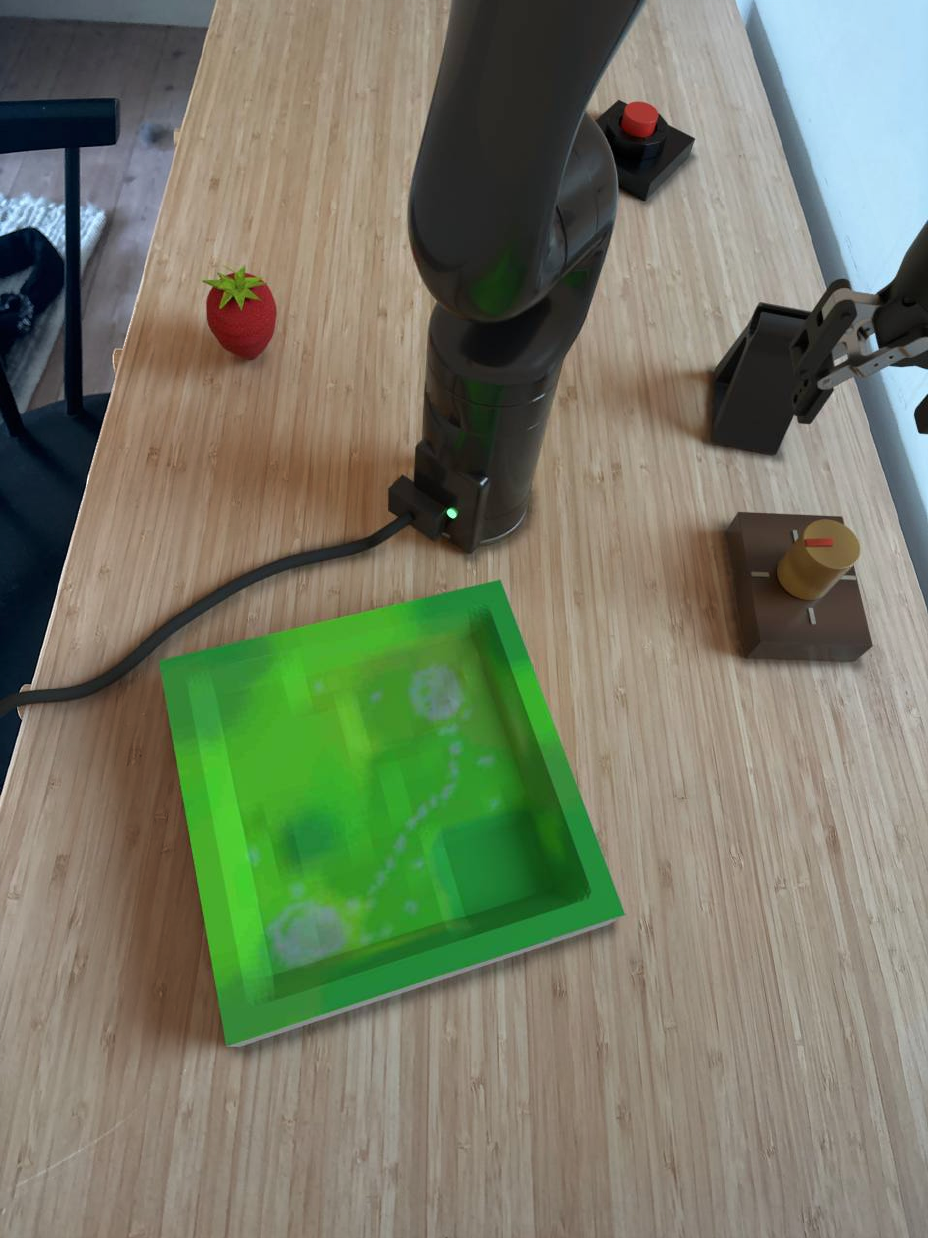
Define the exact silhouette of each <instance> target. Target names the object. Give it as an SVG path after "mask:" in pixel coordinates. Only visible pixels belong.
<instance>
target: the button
mask: <svg viewBox="0 0 928 1238" xmlns="http://www.w3.org/2000/svg"><path fill="white" fill-rule="evenodd" d="M627 104H628V105H627V106H626V107H625V110H624V114H623V118H622V122H621V128H622V130H623V131H624V132H626V133H628V134H630V135H632V136H637V137H648V136H651V135H652V134H653V132H654V129H655V125H656V122H657V119H658V113H659V111H658V109H657V108H656V107H655V106H653V105H652V104H650V103H648V102H645V101H640V100H639V101H638V100H637V101H632V102H629V103H627Z"/></svg>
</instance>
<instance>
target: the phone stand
mask: <svg viewBox="0 0 928 1238" xmlns="http://www.w3.org/2000/svg"><path fill="white" fill-rule="evenodd" d="M811 312H812V310H811V311H810V310H807V309H801V308H795V307H789V306H784V305H778V304H773V303H768V302H762V301H760V302H759V303H757V305H756V306H755V309H754V311H753V313H752V316H751V317H750V319H749V322H748V323H747V325H746V326H745V328H744V329H743V330H742V331H741V332H740V334H739V336H737V338H736V339H735V341H734V342H733V344H732V345H731V346H730V348H729V349H728V350H727V352H726V353H725V354H724V356H723V357H722V358H721V360H720V361H719V363H718V364H717V365H716V366H715V368H714V370H713V382H712V384H713V388H712V403H711V404H712V405H711V406H712V407H711V421H710V422H711V425H710V444H715V445H721V446H727V447H731V448H732V447H733V448H738V449H743V450H748V451H752V452H753V451H754V452H759V453H764V454H768V455H769V454H770V455H775V456H776V455H777V454H778V452H779V449H780V447H781V445H782V443H783V441H784V438H785V436H786V434H787V431H788V429H789V427H790V425H791V422H792V420H793V419H794V417H795V416H794V410H793V404H792V393H793V392H794V390H795V389H796V387H797V385H798V384H799V382H800V381H801V380H797V379H796V378H795V376H794V370H793V365H792V360H791V354H790V349H789V345H790V343H791V342H792V340H793V339H794V337H795V336H796V334H797V333H798V331H799V330H800V328H801V327H802V325H803V324H804V322H805V321H806V319H807V318H808V316H809V315H810V313H811Z"/></svg>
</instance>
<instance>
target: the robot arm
mask: <svg viewBox="0 0 928 1238" xmlns="http://www.w3.org/2000/svg"><path fill="white" fill-rule="evenodd" d="M648 1H649V0H451V3H450V8H449V9H450V10H449V14H448V15H449V16H448V23H447V29H446V35H445V38H444V44H443V49H442V53H441V58H440V62H439V68H438V72H437V76H436V80H435V84H434V88H433V92H432V95H431V100H430V105H429V108H428V111H427V116H426V119H425V124H424V127H423V131H422V136H421V139H420V142H419V143H420V144H419V147H418V151H417V152H418V153H417V155H416V160H415V164H414V168H413V172H412V175H411V176H412V177H411V181H410V186H409V192H408V198H407V209H406V210H407V211H406V212H407V213H406V215H407V217H406V222H407V223H406V224H407V234H408V242H409V247H410V251H411V254H412V258H413V261H414V264H415V266H416V269H417V271H418V272H417V273H418V275H419V276H420V279H421V280H422V282H423V284H424V286H425V288H426V289H427V291H428V292H429V293H430V295H431V296H432V297H433V298H434V300H435V301H436V302H435V304H434V306H433V308H432V310H431V314H430V317H429V321H428V326H427V337H426V354H425V355H426V356H425V357H426V359H425V374H424V388H423V389H424V390H423V404H422V405H423V407H422V422H421V423H422V424H421V440H419V442H417V444H416V445H415V446H414V467H413V480H412V479H411V478H409V477H408V476H406V475H404V474H401V475H400V476H399V477H397V478H396V480H395V481H394V482H393V483H392V484H391V485H390V486H389V487H388V488H387V511H388V513H390V514H392V515H393V516H395V519H393V520H392V521H391V522H389V523H387V524H386V525H384V526H383V527H381V528H379V529H378V530H376V531H375V532H373V533H372V534H370V535H368V536H366V537H363V538H360V539H357V540H353V541H350V542H347V543H343V544H339V545H334V546H330V547H329V546H328V547H324V548H319V549H315V550H310V551H305V552H304V551H303V552H300V553H296V554H292V555H289V556H286V557H282V558H279V559H276V560H274V561H271V562H268V563H265V564H264V565H261V566H259V567H256V568H255V569H252V570H250V571H248V572H245V573H244V574H242V575H240V576H237V577H236V578H234V579H232V580H230V581H228V582H226V583H225V584H223V585H222V586H219V587H218V588H216V589H215V590H213V591H212V592H210V593H208V594H206V595H205V596H203V597H202V598H201V599H199V600H197V601H195V602H194V603H193V604H191V605H190V606H188V607H186V608H185V609H183V610H182V611H181V612H178V613H177V614H176V615H175V616H173V617H172V618H170V619H168V620H167V621H166V622H165V623H163V624H162V625H161V626H159V627H158V628H157V629H156V630H155V631H154V632H152V633H151V634H150V635H149V636H148V637H146V639H144V640H143V641H142V642H141V643H140V644H139V645H138V646H137V647H136V648H135V649H133V651H131V652H130V653H129V654H128V655H126V656H125V658H123V659H122V660H120V661H119V662H118V663H116V664H115V665H114V666H112V667H111V668H110V669H108V670H106V671H104V672H103V673H102V674H100V675H98V676H96V677H94V678H92V679H89V680H88V681H84V682H82V683H79V684H76V685H72V686H65V687H58V688H41V689H30V690H23V691H18V692H15V693H12V694H10V695H8V696H6V697H4V698H2V699H1V700H0V719H1V718H4V717H6V716H7V715H8V714H9V713H10V712H11V711H13V710H15V709H17V708H19V707H23V706H24V707H25V706H27V705H36V704H37V705H38V704H50V703H51V704H52V703H61V702H70V701H74V700H79V699H82V698H87V697H89V696H92V695H94V694H97V693H98V692H101V691H103V690H104V689H106V688H108V687H109V686H111V685H113V684H115V683H117V682H118V681H119V680H120V679H122V678H123V677H125V676H126V675H127V674H129V673H130V672H131V671H132V670H134V669H135V668H137V666H139V665H140V664H141V662H143V661H144V660H145V659H146V658H147V657H148V656H150V655H151V653H153V652H155V650H156V649H157V648H158V647H160V646H161V645H162V644H163V643H164V642H165V641H166V640H167V639H169V638H170V637H171V636H173V634H175V633H176V632H178V631H179V630H181V629H182V628H183V627H185V626H186V625H188V624H189V623H190V622H193V621H194V620H195V619H197V618H198V617H200V616H201V615H203V614H204V613H206V612H208V611H209V610H211V609H212V608H214V607H215V606H217V605H219V604H220V603H221V602H223V601H225V600H227V599H228V598H229V597H231V596H233V595H235V594H237V593H239V592H240V591H242V590H244V589H246V588H248V587H250V586H252V585H254V584H255V583H258V582H260V581H263V580H265V579H267V578H270V577H273V576H274V575H277V574H280V573H283V572H286V571H289V570H291V569H296V568H299V567H302V566H303V567H304V566H306V565H311V564H315V563H321V562H325V561H330V560H334V559H339V558H345V557H349V556H353V555H356V554H359V553H362V552H365V551H368V550H371V549H373V548H375V547H378V546H379V545H381V544H382V543H383V542H386V541H387V540H388V539H390V538H392V537H393V536H395V535H396V534H398V533H399V532H401V531H403V529H405V528H406V527H408V526H410V527H412V528H413V529H415V530H416V531H417V532H419V533H420V534H422V535H423V536H425V537H427V538H428V539H430V540H431V541H433V542H435V541H436V540H437V539H438V538H439V537H441V538H443V539H444V540H447V541H448V542H450V543H451V544H452V545H454V546H455V547H457V548H459V549H460V550H462V551H463V552H465V553H466V554H468V555H472V554H473V553H474V552H476V550H477V549H478V548H479V547H484V546H490V545H494V544H496V543H497V544H498V543H500V542H501V541H504V540H506V539H507V538H509V537H511V536H512V535H513V534H514V533H515V532H516V531H517V530H518V529H519V528H520V526H521V525H522V524H523V522H524V520H525V518H526V515H527V511H528V507H529V500H530V495H531V491H532V486H533V482H534V479H535V475H536V471H537V466H538V463H539V459H540V455H541V451H542V446H543V443H544V439H545V435H546V431H547V427H548V423H549V419H550V415H551V411H552V407H553V405H554V400H555V396H556V394H557V393H556V392H557V388H558V384H559V381H560V376H561V372H562V369H563V365H564V362H565V358H566V357H567V355H568V353H569V352H570V350H571V348H572V347H573V345H574V343H575V341H576V340H577V338H578V337H579V335H580V333H581V331H582V328H583V327H584V324H585V322H586V320H587V317H588V314H589V310H590V307H591V305H592V301H593V300H594V299H593V298H594V296H595V292H596V289H597V287H598V283H599V279H600V277H601V273H602V270H603V267H604V264H605V260H606V259H607V254H608V251H609V248H610V244H611V242H612V241H611V240H612V237H613V234H614V229H615V226H616V220H617V213H618V207H619V205H618V204H619V188H618V178H617V171H616V165H615V161H614V157H613V154H612V151H611V148H610V146H609V143H608V141H607V139H606V137H605V135H604V133H603V131H602V130H601V128H600V127H599V125H598V124H597V123H596V121H595V120H596V119H594V117H593V116H592V115H591V114H590V113H589V112H588V111H587V109H588V106H589V104H590V102H591V99H592V98H593V96H594V94H595V92H596V90H597V88H598V86H599V84H600V83H601V81H602V78H603V77H604V75H605V73H606V71H607V70H608V68H609V67H610V65H611V63H612V61H613V59H614V58H615V56H616V54H617V53H618V51H619V49H620V48H621V46H622V44H623V42H625V39H626V38H627V36H628V35H629V32H630V31H631V29H632V27H633V26H634V25H635V23H636V21H637V19H638V18H639V16H640V15H641V13H642V11H643V9H644V8H645V6H646V4H647V3H648ZM873 334H874V337H875V340H876V344H877V348H878V349H877V350H875V351H873V352H871V353H869V352H868V348H867V347H868V346H867V340H868V339H869V337H871V336H872V335H873ZM789 349H790V354H791V360H792V365H793V370H794V376H795V378H796V379H797V380H801V381H800V382H799V384H798V385H797V387H796V389H795V390H794V392H793V393H792V404H793V410H794V416H793V417H796V419H797V423H798V424H799V425H800V424H801V425H811V424H812V423H813V422H814V420H815V419H816V418H817V416H818V414H819V413H820V412H821V410H822V409H823V407H824V406H825V404H826V403H827V401H828V400H829V399H830V397H831V395H832V394H833V393H834V391H835V387H837V386H838V385H840V384H843V383H845V382H846V381H848V380H850V379H852V378H854V377H856V376H859V377H861V378H867V377H870V376H872V375H874V374H876V373H878V372H879V371H881V370H884V369H886V368H887V367H893V368H907V367H908V368H909V367H918V368H920V369H923V370H927V371H928V219H927V220H926V222H925V223H924V225H923V226H922V228H921V229H920V230H919V232H918V233H917V235H916V237H914V239H913V241H912V242H911V244H910V246H909V247H908V249H907V250H906V252H905V253H904V256H903V258H902V260H901V263H900V265H899V267H898V270H897V271H896V273H895V276H894V278H893V279H892V280H891V281H890V282H889V283H888V284H887V285H886V286H884V287H882V288H881V289H880V290H878V291H877V292H876V293H869V292H861V291H855V290H852V285H851V282H850V280H849V279H847V278H838V279H836V280H833V281H832V282H831V283H830V284H828V287H827V288H826V289H825V290H824V293H823V294H822V296H821V297H820V299H819V300H818V301H817V303H816V304H815V306H814V308H813V309H812V310H811V313H810V315H809V316H808V318H807V319H806V321H805V322H804V324H803V325H802V327H801V328H800V330H799V331H798V333H797V334H796V336H795V337H794V339H793V340H792V342H791V343H790V345H789ZM846 355H848V356H847V358H846V359H845V360H844V361H841V362H839V363H838V364H836V365H835V361H837V360H838V359H840V358H842V357H844V356H846ZM913 411H914V412H913V419H914V422H915V427H916V430H917V433H918V434H920V435H928V393H926V395H925V396H924V398H923V399H922V400H921V401H920V402H919V403H918V404H917V406H916V407H915V408H914V410H913Z"/></svg>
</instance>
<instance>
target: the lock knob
mask: <svg viewBox="0 0 928 1238" xmlns="http://www.w3.org/2000/svg"><path fill="white" fill-rule="evenodd" d="M860 555H861V543H860V541H859V539H858V537H857V536H856V534H855V533H854V532H853V531H852V530H851V529H850V528H849V527H848V526H847V525H845V524H844V525H843V524H841V523H839V522H837V521H833V520H828V519H823V520H817V521H814V522H812V523H811V524H809V525H808V526H807V527H806V528H805V530H804V531H803V532H802V533H801V535H800V536H799V537H798V539H797V540H796V541H795V542H794V544H793V545H792V546H791V547H790V549H789V550H788V551H787V552H786V554H785V555H784V556H783V557H782V559H781V560H780V561H779V563H778V566H777V576H778V579H779V581H780V583H781V585H782V586H783V588H784V589H785V590H786V591H787V592H789V593H790V594H791V595H793V596H795V597H797V598H800V599H804V600H815V599H819V598H821V597H823V596H824V595H826V594H827V592H828V591H829V590H830V589H831V588H832V587H833V586H834V585H835V584H836V583H837V582H838V581H839V580H840V579H841V578H842V577H843V576H844V575H845V574H846V573H847V571H848V570H849V569H850V568H851V567H852V566H853V565H854V566H855V564H857V562H858V560H859V559H860Z"/></svg>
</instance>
